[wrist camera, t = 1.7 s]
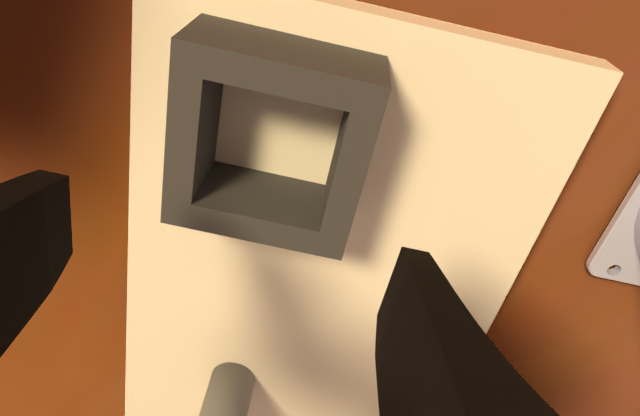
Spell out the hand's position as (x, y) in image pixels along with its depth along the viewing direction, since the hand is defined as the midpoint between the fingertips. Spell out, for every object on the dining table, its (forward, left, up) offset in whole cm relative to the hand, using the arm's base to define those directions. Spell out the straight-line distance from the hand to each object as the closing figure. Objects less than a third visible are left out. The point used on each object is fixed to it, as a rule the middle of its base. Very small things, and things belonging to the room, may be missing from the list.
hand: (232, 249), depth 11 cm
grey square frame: (0, 0, -7) cm, 7 cm away
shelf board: (-3, +8, -9) cm, 12 cm away
